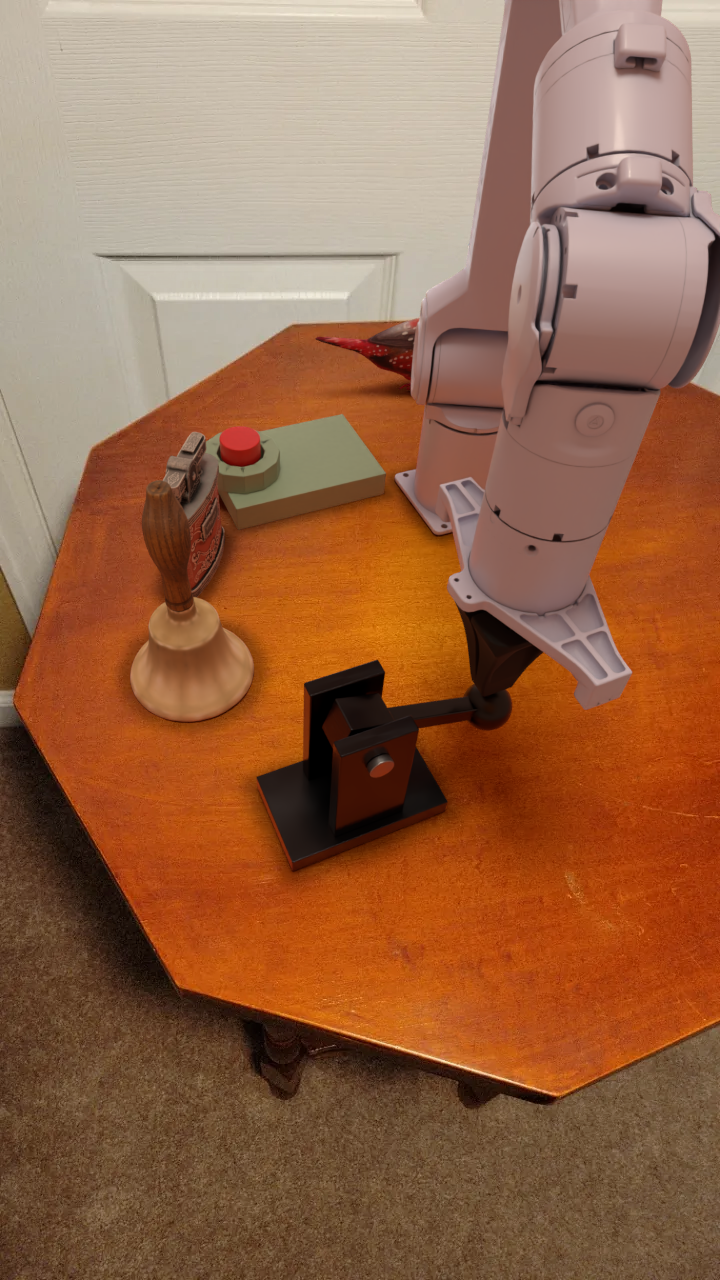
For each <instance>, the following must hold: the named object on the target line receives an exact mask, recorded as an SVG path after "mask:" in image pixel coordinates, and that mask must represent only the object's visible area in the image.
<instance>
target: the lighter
mask: <svg viewBox="0 0 720 1280" xmlns="http://www.w3.org/2000/svg"><path fill="white" fill-rule="evenodd" d="M206 441H207V439H206V435H205V434H203V433H201V432H197V431H192V432H191V433H190V434H189V435H188V436H187V438H186V439H185V441H184V443H183V445H182V446H181V448H180V450H179V451H178V453H177V455H170V456H169V457H168V459H167V462H166V468H165V474H164V475H165V476H164V478H162V481H165V482H167V483H168V484H169V485H170V486H171V489H172V491H173V493H174V495H175V497H176V498H177V500H178V501H179V503H180V504H181V506H182V508H183V510H184V512H185V514H186V516H187V519H188V522H189V528H190V534H191V552H190V558H189V562H188V566H187V572H188V578H189V582H190V586H191V590H192V594H193V597H196V598H199V597H200V595H201V594H202V593H203V591H205V589H206V587H207V586H208V585H209V584H210V582H211V580H212V579H213V577H214V575H215V573H216V572H217V570H218V568H219V565H220V562H221V559H222V557H223V554H224V548H225V542H226V534H225V529H224V527H223V526H222V519H221V517H222V516H221V509H220V494H219V492H218V484H217V480H218V475H219V465H218V460H217V458H216V457H214V456H213V455H211V454H208V453H205V451H206Z"/></svg>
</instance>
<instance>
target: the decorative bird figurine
mask: <svg viewBox="0 0 720 1280" xmlns="http://www.w3.org/2000/svg"><path fill="white" fill-rule="evenodd" d="M418 322H419V317H416V318H413V319H410V320H406V321H403V322H401V323H397V324H395V325H393V326H391V327H388V328H387V329H384V330H382V331H380V332H378V333H376V334H374V335H372V336H370V337H368V338H366V339H365V338H364V339H361V338H348V337H334V336H333V337H332V336H317V337H315V338H314V340H316V341H318V342H319V343H324V344H327V345H331V346H334V347H336V348H337V347H338V348H341V349H344V350H348V351H352V352H355V353H357V354H359V355H361V356H363V357H364V358H366V359H367V360H368V361H370V362H371V363H372V364H373V365H375V366H376V367H377V368H379V369H381V370H383V371H388V372H391V373H395V374H398V375H400V376H402V377H404V379H406V380H408V381H409V382H408V383H405V384H403V385H402V386H400V387H399V388H398V390H401V389H404V388H406V390H407V391H409V390H410V391H411V372H412V359H413V348H414V340H415V332H416V327H417V323H418Z"/></svg>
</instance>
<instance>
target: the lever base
mask: <svg viewBox="0 0 720 1280" xmlns="http://www.w3.org/2000/svg"><path fill="white" fill-rule="evenodd" d="M385 676H386V671H385V669H384V667H383V666H382V664H381V662H380V661H379V659H375V660H371V661H368V662H365V663H362V664H359V665H356V666H353V667H349V668H346V669H344V670H340V671H337V672H333V673H331V674H327V675H325V676H321V677H318V678H315V679H311V680H309V681H306V682H304V683H303V717H302V718H303V720H302V722H303V724H302V725H303V727H302V728H303V729H302V730H303V731H302V760H301V761H298V762H295V763H292V764H289V765H286V766H283V767H280V768H277V769H274V770H272V771H269V772H266V773H263V774H260V775H257V776H255V777H256V789H257V790H258V793H259V794H260V798H261V800H262V802H263V805H264V808H265V809H266V812H267V814H268V817H269V819H270V821H271V825H272V826H273V829H274V831H275V833H276V836H277V838H278V840H279V842H280V846H281V848H282V850H283V853H284V855H285V858H286V860H287V862H288V864H289V867H290V869H291V871H292V872H295V871H298V870H301V869H302V868H305V867H309V866H310V865H313V864H315V863H318V862H321V861H322V860H325V859H328V858H330V857H333V856H335V855H338V854H341V853H343V852H346V851H348V850H350V849H353V848H356V847H359V846H361V845H364V844H367V843H369V842H371V841H373V840H376V839H379V838H381V837H384V836H386V835H388V834H391V833H393V832H396V831H399V830H401V829H404V828H406V827H409V826H411V825H414V824H416V823H419V822H422V821H424V820H428V818H431V817H434V816H437V815H440V814H442V813H445V812H446V810H447V806H448V803H449V801H448V799H447V797H446V796H445V794H444V792H443V791H442V789H441V787H440V785H439V784H438V782H437V780H436V779H435V777H434V775H433V773H432V771H431V769H430V768H429V766H428V764H427V763H426V761H425V759H424V758H423V755H421V752H420V751H419V749H418V748H417V742H418V738H419V732H420V728H418V726H417V725H416V723H415V721H414V720H413V718H412V716H411V715H410V716H407V717H404V718H401V719H398V720H395V721H393V722H390V723H387V724H384V725H381V726H378V727H375V728H372V729H370V730H367V731H364V732H361V733H358V734H355V735H352V736H349V737H347V738H344V739H341V740H338V741H335V742H334V744H333V748H332V746H331V744H330V742H329V740H328V738H327V736H326V734H325V732H324V730H323V728H322V725H323V723H324V721H325V719H326V717H327V715H328V713H329V710H330V708H331V706H332V704H333V702H334V700H335V699H336V698H343V697H351V696H359V695H366V694H374V693H379V694H380V696H381V697H382V698H383V692H384V684H385Z"/></svg>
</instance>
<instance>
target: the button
mask: <svg viewBox="0 0 720 1280" xmlns="http://www.w3.org/2000/svg"><path fill="white" fill-rule="evenodd" d="M257 431H258V430H255V429H254V428H252V427H248V426H242V425H237V426H232V427H228V428H226V429H224V430H223V431H221V432H222V433H221V435H220V438H219V441H220V452H221V458H222V460H223V462H224V463H226V464H228V465H230V466H238V467H245V466H249V465H254V464H255V463H257V462H258V461H259V460H260V457H261V445H260V435H259V434H258V432H257Z"/></svg>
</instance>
